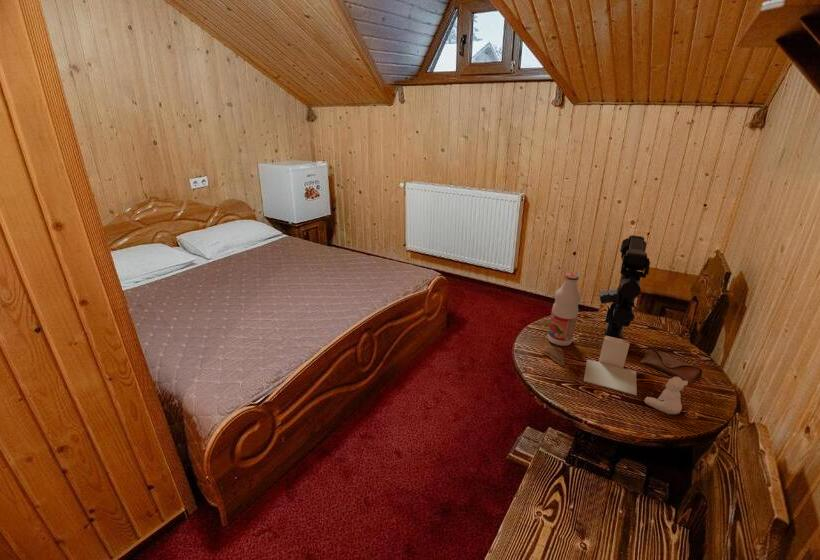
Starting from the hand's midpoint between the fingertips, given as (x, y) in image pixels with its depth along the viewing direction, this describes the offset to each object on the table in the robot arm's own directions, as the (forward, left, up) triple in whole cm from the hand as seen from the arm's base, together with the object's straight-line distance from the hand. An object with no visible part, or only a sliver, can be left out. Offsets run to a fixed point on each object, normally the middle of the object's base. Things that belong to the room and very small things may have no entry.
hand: (618, 326), depth 147 cm
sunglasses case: (+1, +19, -13) cm, 23 cm away
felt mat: (+16, 0, -12) cm, 20 cm away
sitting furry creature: (+25, +16, -12) cm, 32 cm away
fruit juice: (-1, -19, -12) cm, 23 cm away
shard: (+11, -18, -13) cm, 25 cm away
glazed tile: (+7, 0, -12) cm, 14 cm away
